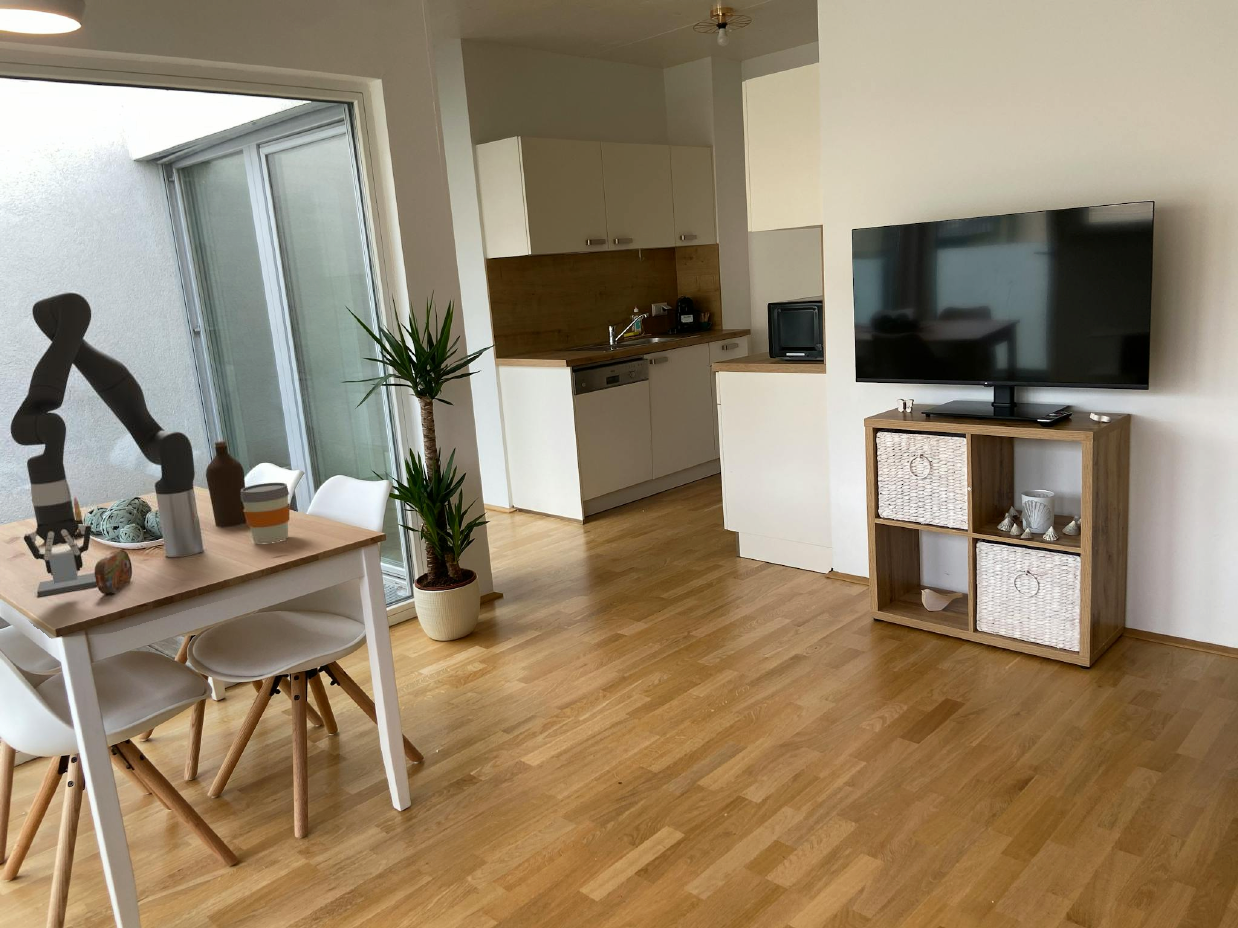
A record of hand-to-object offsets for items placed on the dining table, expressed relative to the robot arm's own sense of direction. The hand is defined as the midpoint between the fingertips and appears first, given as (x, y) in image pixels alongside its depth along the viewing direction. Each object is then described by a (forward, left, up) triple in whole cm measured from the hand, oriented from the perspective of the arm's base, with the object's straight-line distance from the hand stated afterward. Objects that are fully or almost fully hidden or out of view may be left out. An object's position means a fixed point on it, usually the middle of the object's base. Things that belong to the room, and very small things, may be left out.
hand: (65, 571), depth 217 cm
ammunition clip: (+4, -71, -7) cm, 71 cm away
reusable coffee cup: (-48, -26, -7) cm, 55 cm away
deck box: (0, 0, -1) cm, 1 cm away
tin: (-9, -4, -7) cm, 12 cm away
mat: (+1, -13, -7) cm, 15 cm away
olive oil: (-41, -57, -7) cm, 71 cm away
